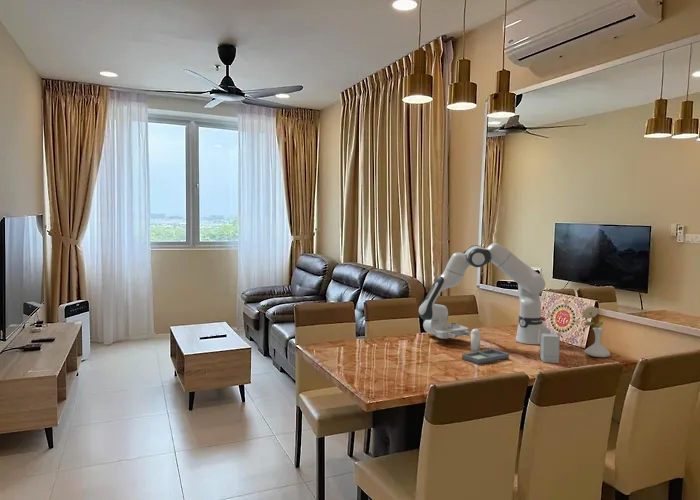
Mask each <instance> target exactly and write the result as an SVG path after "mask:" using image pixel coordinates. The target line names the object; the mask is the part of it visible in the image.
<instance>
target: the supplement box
mask: <svg viewBox="0 0 700 500" xmlns="http://www.w3.org/2000/svg"><path fill="white" fill-rule="evenodd" d="M539 346H540V351H539V352H540V353H539V356H540V357H539V359H540V360H541V361H542V362H543V363H551V364H552V363H554V364H555V363H556V364H559V363H560V335H558V334H557V333H553V332H551V333H541V344H540V345H539Z"/></svg>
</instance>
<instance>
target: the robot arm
mask: <svg viewBox="0 0 700 500" xmlns="http://www.w3.org/2000/svg"><path fill="white" fill-rule="evenodd" d="M488 263H491V264H493V265H494V266H495V267H497V269H499V270H500V271H501V272H503V273H504V274H505V275H506V276H507V277H509V278H510V279H511V280H512V281H514V282H515V283H517V288H518V297H519V315H518V323H517V331H516V336H515V341H516V342H518V343H521V344H526V345H538V346H540V344H541V333H552V332H551V329H549V327H547V326H546V325H545V324H544V322H546V320H547V318H546V317H545V316H542V301H541V299H540V293H542V292H543V291H544V289H545V287H546V281H545V279H544V278H543V276H542V275H540V273H538V272H537V271H536V270H534V269H533V268H531V266H529V265H528V264H527V263H525V262H523V260H521V259H520V258H519V257H518V256H517V255H515V254H514V253H513V252H512V251H510V250H509V249H508V248H506V247H505V246H503V245H501V244H500V243H498V242H493V243H490V244H489V245H488V246H487V247H485V248H484V247H482V246H480V245H471V246H469V247H468V248H467V249H466V250H465V251H463V253H462V252H459V251H458V252H454V253H452V255H451V256H450V258H449V259H448V261H447V264H446V266H445V269H444V271H443V272H442V273H441V274H440V275H439V277H437V278H436V279H435V281H433V284H432V285H431V287H430V288H429V290H428V292H427V295H426V296H425V298H424V299H423V301H422V302H421V303H420V305H419V306H418V310H417V311H418V315H419V317H420V318H421V319H422V320H423V323H422V326H423V329H424V331H425V332H427V333H428V334H430V335H432V336H435V337H437V338H439V339H443V340H445V339H450V338H452V339H455V338H457V337H462V336H469V337H471V332H470V328H469V327H467V326H463V325H460V324H459V323H456V322H451V323H450V322H448V319H449V315H450V314H449V313H450V312H449V309H448V307H447V305H443V304H441V303H440V304H438V303H435V302H436V301H437V298H438V297H439V296H440V294H441V293H442V291H444V290H447V289H450V288H454V287H457V286H459V285H460V284H461V282H462V280H463V279H464V276H465V274H466V271H467V270H468V268H469V267H470V266H472V267H474V268H483V266H486V265H487V264H488ZM543 321H544V322H543Z"/></svg>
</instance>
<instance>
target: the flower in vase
mask: <svg viewBox="0 0 700 500" xmlns="http://www.w3.org/2000/svg"><path fill="white" fill-rule="evenodd" d="M598 314H599V309H598V307H596V306H594V305H592V306H590V305H589V306H588V307H585V309H583V311H582V313H581V315H582V317H583V318H586V319H591V320H592V321H587V322H585V323H584V326H588V327H589V326H593V325H594V327H592V330H593V331H594V336H595V337H594V338H595V340H594V343H593V344H591V345H590V346H588V347H587V348H585V350H584V353H585V354H586V355H588V356H591V357H595V358H607V357H610V356H611V352H610V351H609V349H607V348H606V347H605V346H604V345H603V344H602V343H601V342H602V341H601V335H602V333H603V331H604V330H605V329H604V328H603V327H600V326H602V325H603V324H604V321H601V322H597V323H596V324H595V322H594V318H596V317H597V315H598Z"/></svg>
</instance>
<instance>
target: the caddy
mask: <svg viewBox="0 0 700 500" xmlns="http://www.w3.org/2000/svg"><path fill="white" fill-rule="evenodd" d="M461 355H462V357H461V359H462V360H464V361H465V362H466V361H467V362H469V363H472V364H475V365H478V366H479V365H484V364H489V363H494V362H495V363H496V362H499V361H504V360H508V359H510V354H509V353H508V352H504V351H501V350H498V349H495V348H489V349H484V350H480V351H477V352H473V351H471V352H467V353H462V354H461Z"/></svg>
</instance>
